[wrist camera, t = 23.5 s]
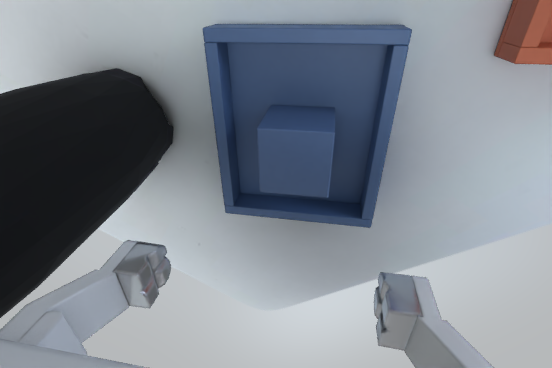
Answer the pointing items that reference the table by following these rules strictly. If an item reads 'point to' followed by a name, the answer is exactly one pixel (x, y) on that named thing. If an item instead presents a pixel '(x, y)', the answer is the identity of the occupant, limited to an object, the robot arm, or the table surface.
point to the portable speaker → (69, 167)
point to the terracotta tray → (527, 33)
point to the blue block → (296, 150)
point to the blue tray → (306, 92)
